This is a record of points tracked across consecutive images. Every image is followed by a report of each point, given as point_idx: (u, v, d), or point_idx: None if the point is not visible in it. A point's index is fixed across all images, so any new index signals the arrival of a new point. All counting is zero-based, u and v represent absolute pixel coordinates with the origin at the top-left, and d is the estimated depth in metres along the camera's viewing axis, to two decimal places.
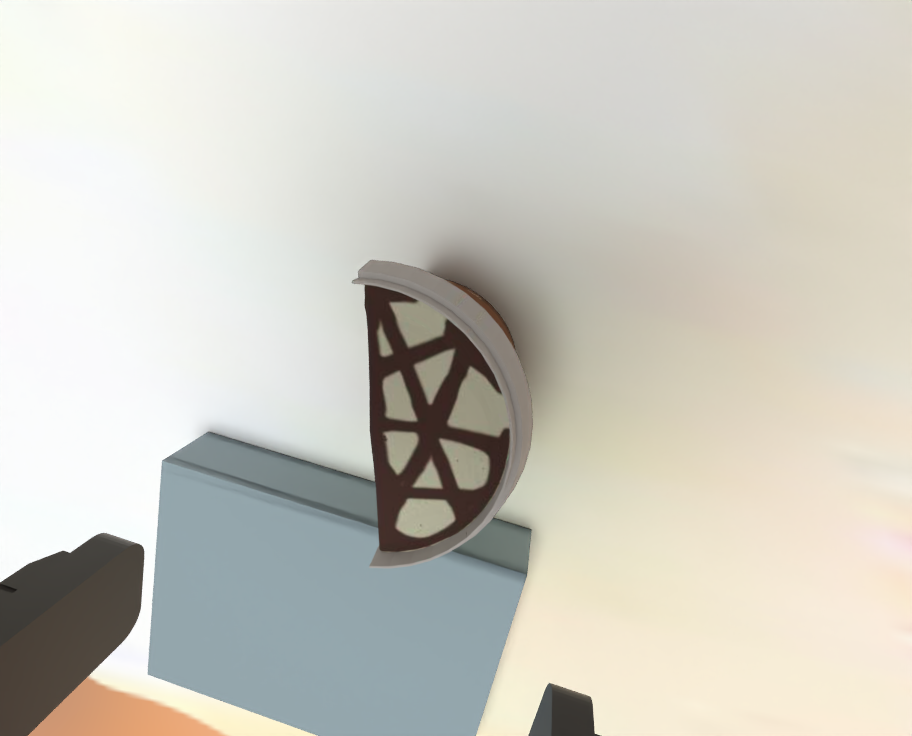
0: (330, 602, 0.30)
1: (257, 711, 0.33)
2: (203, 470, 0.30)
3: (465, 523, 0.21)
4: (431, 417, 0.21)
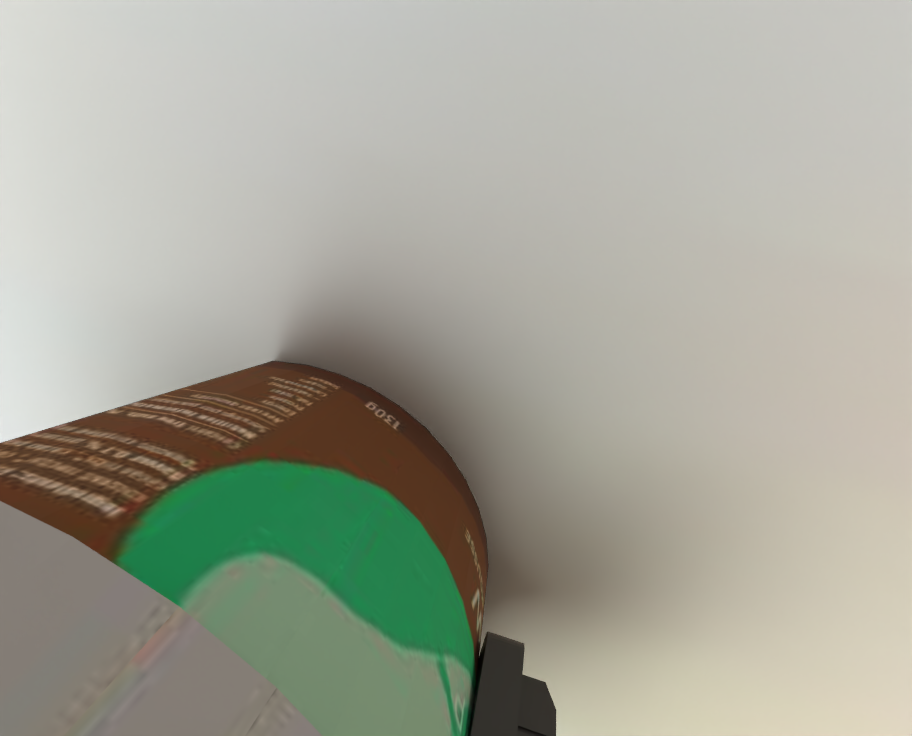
0: None
1: None
2: None
3: None
4: None
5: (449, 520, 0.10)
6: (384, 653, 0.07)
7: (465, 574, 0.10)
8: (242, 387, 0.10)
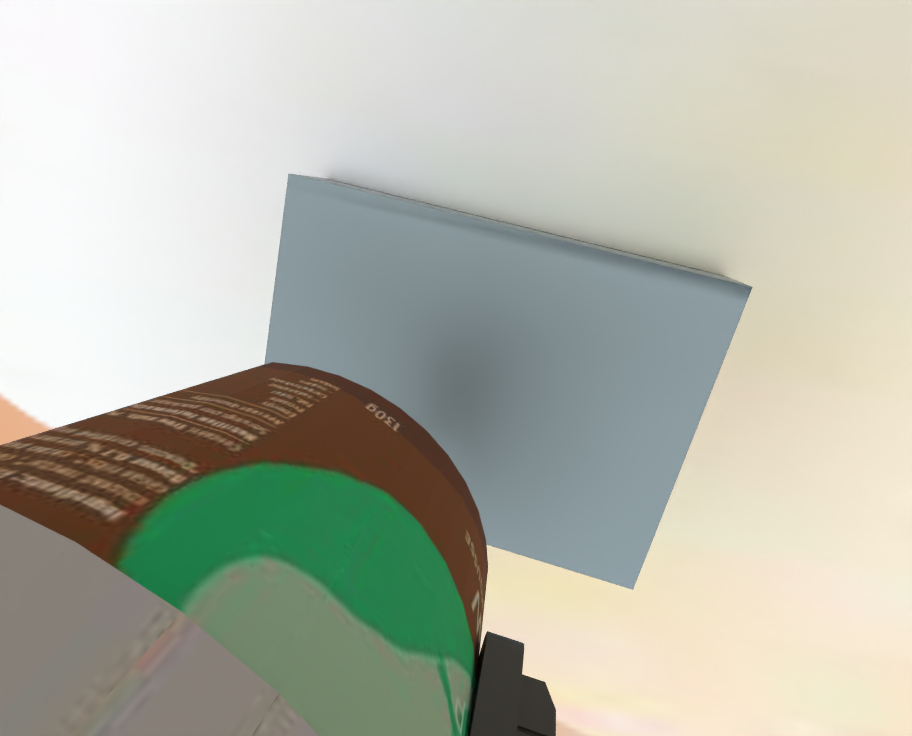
0: (489, 351, 0.25)
1: None
2: (338, 185, 0.24)
3: None
4: None
5: (449, 522, 0.10)
6: (385, 657, 0.07)
7: (465, 576, 0.10)
8: (242, 388, 0.10)
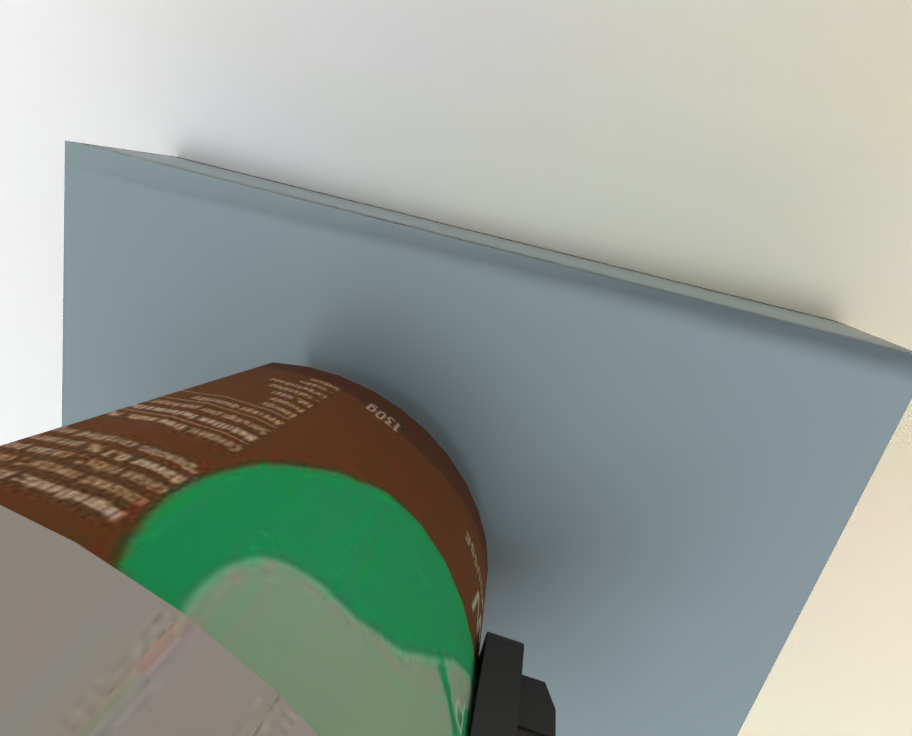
0: None
1: None
2: (156, 162, 0.13)
3: None
4: None
5: (449, 522, 0.10)
6: (385, 657, 0.07)
7: (465, 577, 0.10)
8: (243, 389, 0.10)
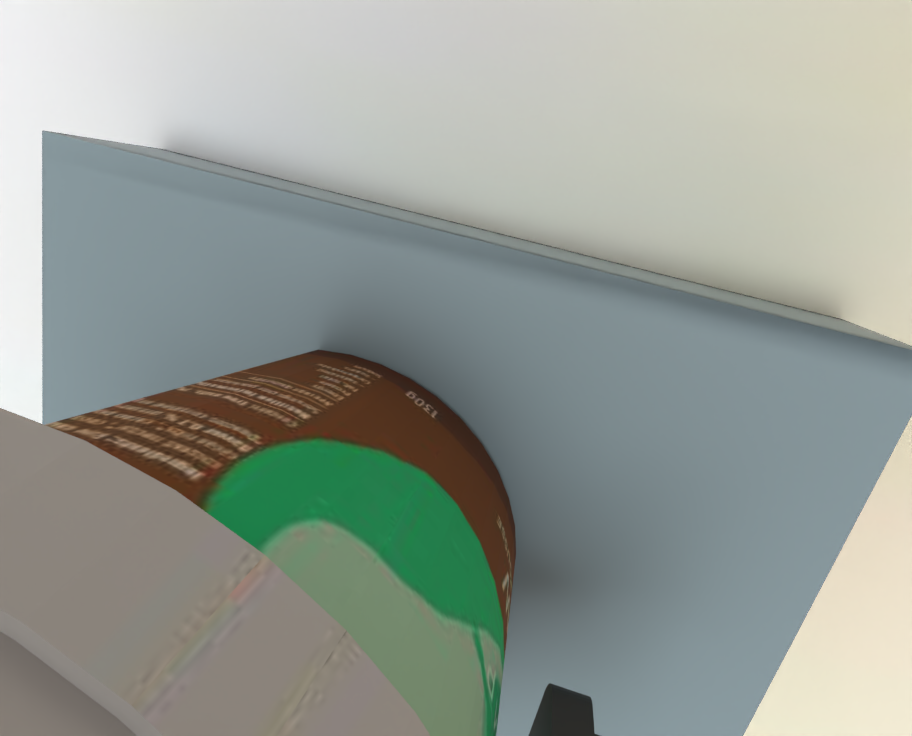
0: None
1: None
2: (137, 153, 0.13)
3: None
4: None
5: (483, 506, 0.11)
6: (428, 618, 0.07)
7: (497, 557, 0.11)
8: (294, 372, 0.11)
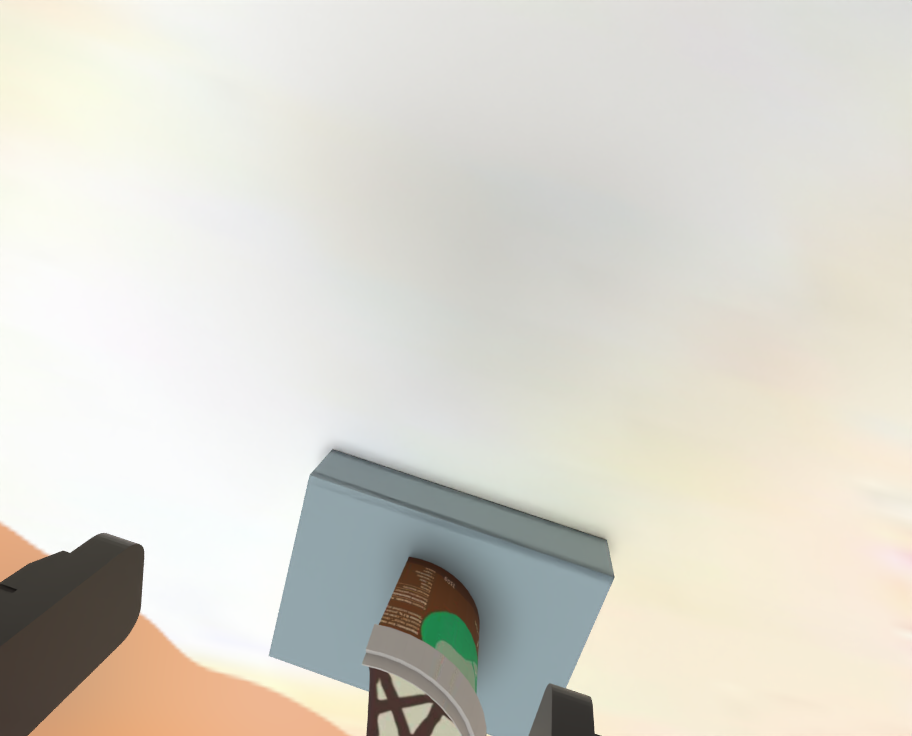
0: None
1: (365, 688, 0.39)
2: (344, 484, 0.35)
3: None
4: None
5: (471, 619, 0.34)
6: (463, 661, 0.30)
7: (475, 637, 0.34)
8: (412, 579, 0.33)
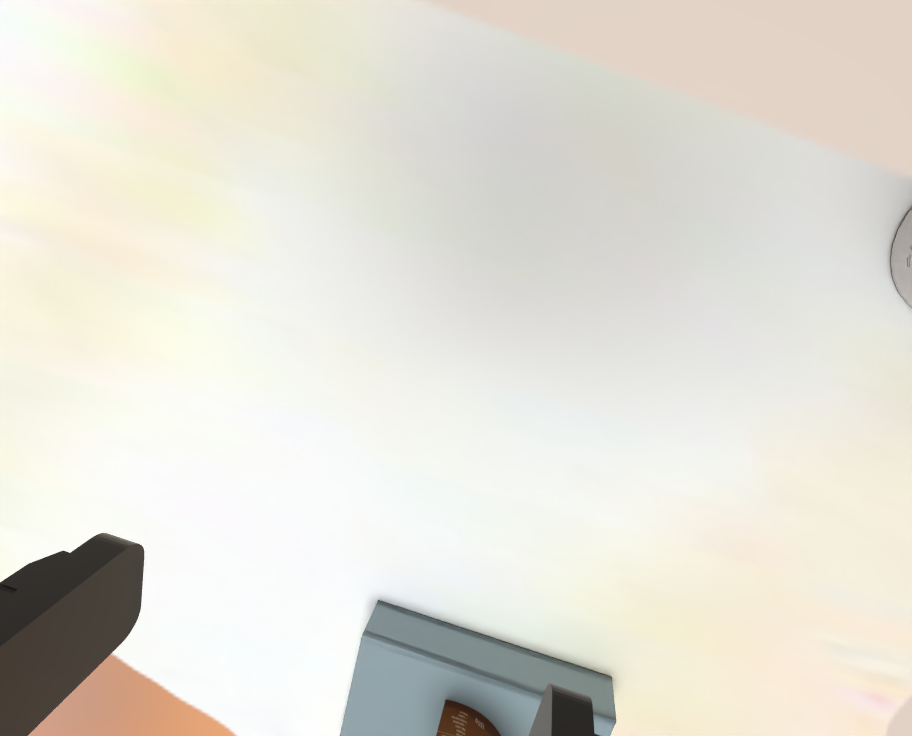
0: None
1: None
2: (390, 641, 0.43)
3: None
4: None
5: None
6: None
7: None
8: (449, 727, 0.41)
